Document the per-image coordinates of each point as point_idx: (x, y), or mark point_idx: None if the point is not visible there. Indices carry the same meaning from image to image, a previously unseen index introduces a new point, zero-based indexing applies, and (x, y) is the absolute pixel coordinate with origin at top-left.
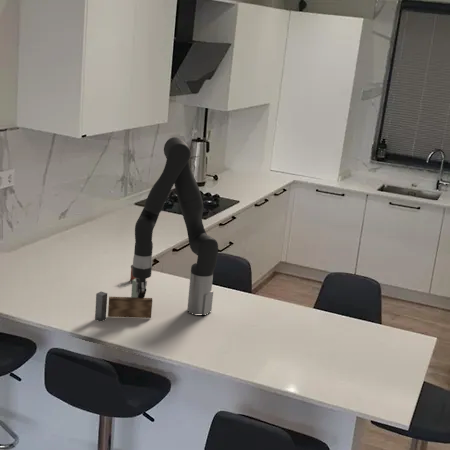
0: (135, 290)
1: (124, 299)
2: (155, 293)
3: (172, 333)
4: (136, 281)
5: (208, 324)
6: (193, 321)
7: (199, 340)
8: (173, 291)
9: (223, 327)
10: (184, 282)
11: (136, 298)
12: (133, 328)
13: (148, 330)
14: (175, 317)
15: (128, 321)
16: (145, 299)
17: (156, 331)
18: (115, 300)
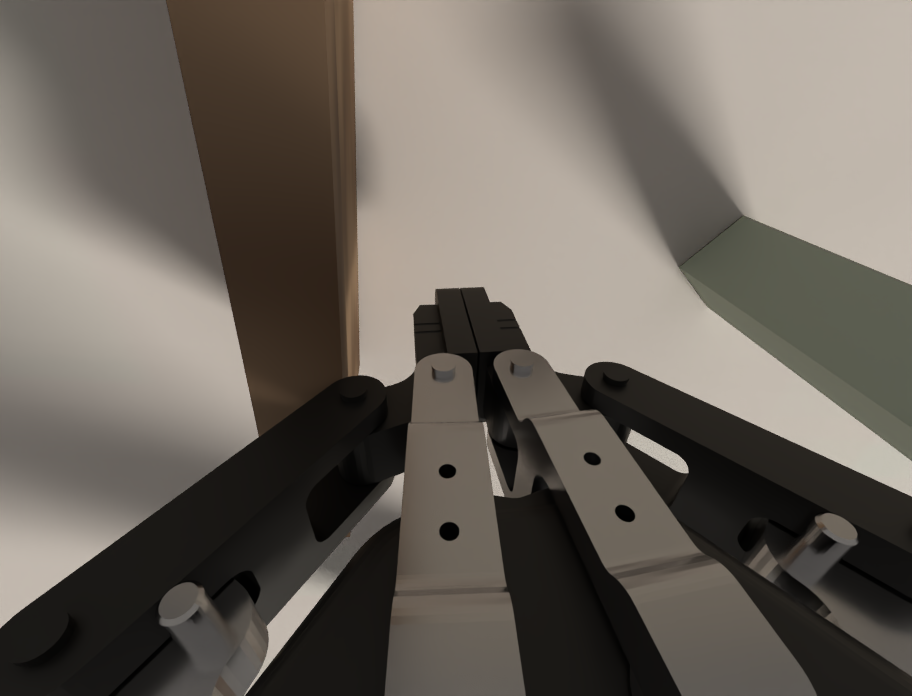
0: (821, 318)
1: (181, 25)
2: (808, 413)
3: (76, 476)
4: (660, 668)
5: (300, 607)
6: (331, 563)
7: (36, 585)
8: None
9: (275, 643)
10: None
11: (280, 348)
12: (17, 160)
13: (44, 318)
14: (385, 496)
15: None
16: None
17: (57, 381)
18: None
